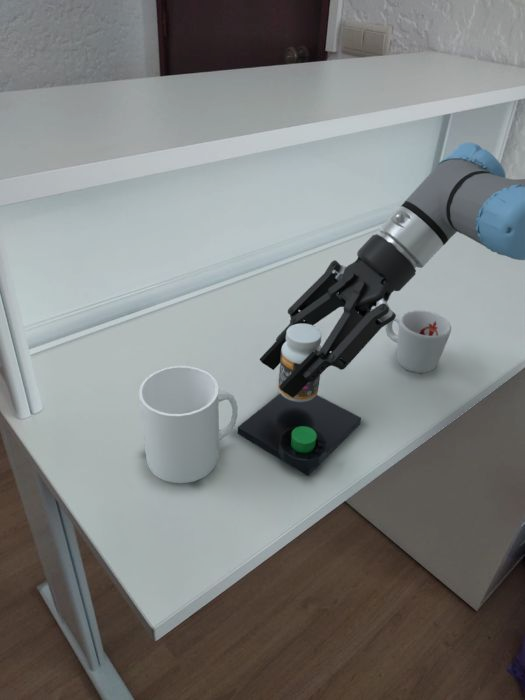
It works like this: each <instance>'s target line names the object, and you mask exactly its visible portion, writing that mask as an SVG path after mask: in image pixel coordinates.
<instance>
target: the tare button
mask: <svg viewBox="0 0 525 700" xmlns="http://www.w3.org/2000/svg"><path fill="white" fill-rule="evenodd" d="M316 437H317V435H316V432H315V431H314V430H313V429H311V428H309V427H306V426H300V427H297V428H295V429H294V430H293V431H292V436H291V446H292V448H293V449H294V450H295V451H297V452H300V453H309V452H311V451H313V450H314V448H315V445H316Z"/></svg>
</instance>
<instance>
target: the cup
mask: <svg viewBox="0 0 525 700" xmlns="http://www.w3.org/2000/svg"><path fill="white" fill-rule="evenodd" d="M395 314H396V313H395ZM394 322H395V323H396V324H397V325H398V333H397V334H396V333H395V332H394V330H393V324H394ZM451 332H452V326H451V323H450V322H449V321H448V319H446V317H444V316H442V315H441V314H438V313H436V312H432V311H428V310H422V309H419V310H418V309H417V310H410V311H407V312H405V313H404V314H402V315H401V314H396V317H395V319H394V320H393V321H391V322H390V323H388V324H386V325H385V333H386V336H387V337H388V338H389V339H390V340H391V341H393V342H394V343H395V344H396V359H397V362H398V363H399V365H400V366H401V367H402V368H404V369H405V370H407V371H409V372H413V373H417V374H426V373H429V372H431V371H433V370H434V369H436V367H437V366H438V365H439V362H440V359H441V357H442V354H443V352H444V350H445V347H446V345H447V343H448V341H449V338H450V335H451Z"/></svg>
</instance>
